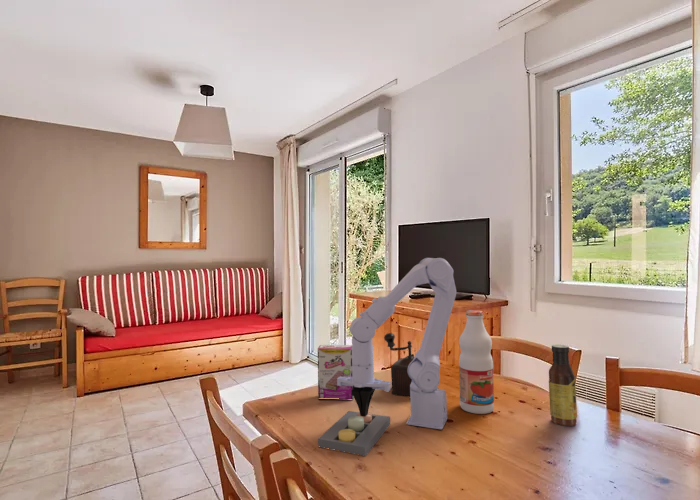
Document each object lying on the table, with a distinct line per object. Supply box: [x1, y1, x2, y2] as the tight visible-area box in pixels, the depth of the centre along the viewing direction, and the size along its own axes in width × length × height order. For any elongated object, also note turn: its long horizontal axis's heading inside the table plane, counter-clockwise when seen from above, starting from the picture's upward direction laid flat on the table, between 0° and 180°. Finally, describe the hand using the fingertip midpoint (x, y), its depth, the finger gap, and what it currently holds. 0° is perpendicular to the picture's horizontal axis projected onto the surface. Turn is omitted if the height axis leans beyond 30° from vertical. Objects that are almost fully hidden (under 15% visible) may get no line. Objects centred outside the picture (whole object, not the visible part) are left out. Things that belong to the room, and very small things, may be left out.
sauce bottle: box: [548, 344, 578, 427], centre depth 105 cm, size 7×6×20 cm
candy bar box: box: [317, 344, 354, 400], centre depth 127 cm, size 11×5×16 cm, turn 84°
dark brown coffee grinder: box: [383, 332, 415, 398], centre depth 133 cm, size 16×11×18 cm
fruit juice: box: [458, 309, 495, 415], centre depth 116 cm, size 9×9×28 cm
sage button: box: [348, 416, 364, 433], centre depth 101 cm, size 4×4×2 cm
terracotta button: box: [357, 411, 373, 423], centre depth 106 cm, size 4×4×2 cm
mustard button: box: [339, 429, 355, 443], centre depth 95 cm, size 4×4×2 cm
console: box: [317, 410, 391, 457], centre depth 101 cm, size 12×18×2 cm, turn 156°
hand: (364, 415), depth 106 cm, fingers closed, pressing on terracotta button
